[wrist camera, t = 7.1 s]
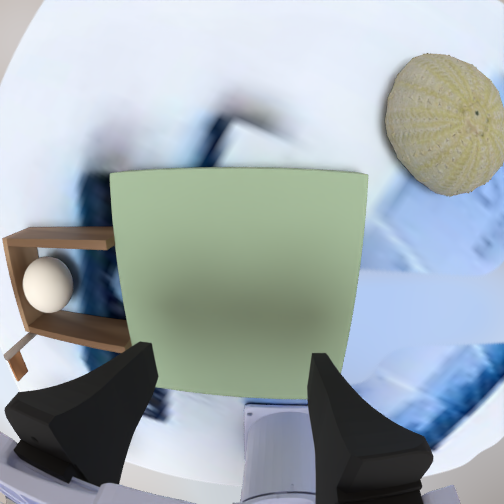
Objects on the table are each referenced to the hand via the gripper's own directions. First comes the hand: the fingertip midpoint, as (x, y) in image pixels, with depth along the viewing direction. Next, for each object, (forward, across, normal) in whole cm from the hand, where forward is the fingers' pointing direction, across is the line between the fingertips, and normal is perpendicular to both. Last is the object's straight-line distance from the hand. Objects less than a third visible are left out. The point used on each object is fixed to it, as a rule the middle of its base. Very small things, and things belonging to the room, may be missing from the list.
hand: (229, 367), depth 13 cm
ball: (+6, +15, 0) cm, 17 cm away
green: (+8, +1, 0) cm, 8 cm away
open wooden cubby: (+8, +14, +1) cm, 16 cm away
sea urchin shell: (+9, -13, -12) cm, 20 cm away
